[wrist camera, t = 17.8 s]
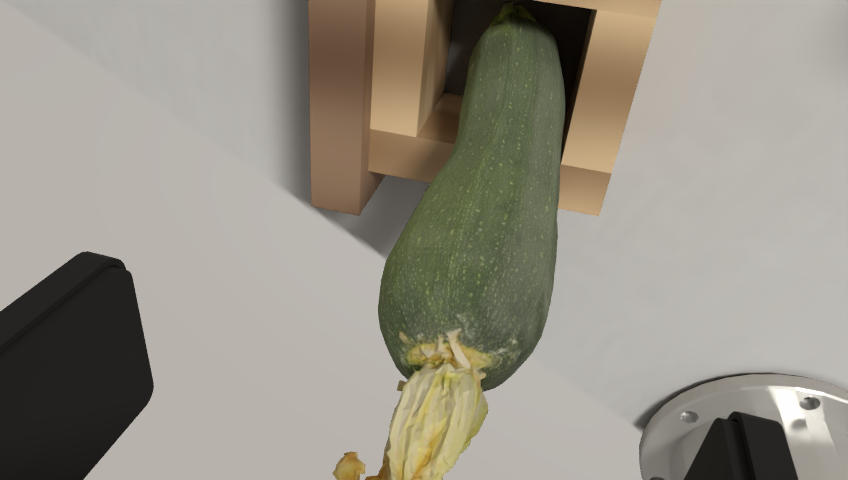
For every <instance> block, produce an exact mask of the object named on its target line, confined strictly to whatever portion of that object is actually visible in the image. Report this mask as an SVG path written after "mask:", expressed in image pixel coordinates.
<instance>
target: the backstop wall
mask: <svg viewBox="0 0 848 480" xmlns="http://www.w3.org/2000/svg"><path fill="white" fill-rule="evenodd" d="M375 6H376V0H308V20H309V88H310V156H311V206H314V207H319V208H324V209H329V210H333V211H338V212H343V213H348V214H353V215H358V216H359V215H360V213H361V212H362V210H363V209H364V207H365V206H366V204H367V203H368V201H369V200H370V198H371V196H372V195H373V193H374V192H375V190H376V189H377V187H378V186H379V184H380V183H381V181H382V179H383V178H384V176H385V175H386V174H381V173H376V172H371V171H368V166H369V143H370V121H371V98H372V75H373V52H374V29H375Z"/></svg>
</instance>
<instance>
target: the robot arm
mask: <svg viewBox="0 0 848 480" xmlns="http://www.w3.org/2000/svg"><path fill="white" fill-rule="evenodd" d="M153 387H154V385H153V378H152V373H151V368H150V364H149V358H148V354H147V349H146V344H145V339H144V333H143V328H142V324H141V318H140V313H139V308H138V303H137V298H136V293H135V288H134V283H133V278H132V275H131V273H130V272H129V271H127V270H126V268H125V265H124V263H123V262H122V261H121V260H119V259H116V258H112V257H108V256H104V255H100V254H96V253H92V252H88V251H87V252H81V253H80V254H78V255H76V256H75V257H73V258H72V259H71V260H69V261H68V262H67V263H65V264H64V265H63V266H61V267H60V268H58V269H57V270H56V271H54V272H53V273H52V274H50V275H49V276H48V277H46V278H45V279H44V280H42V281H41V282H40V283H38V284H37V285H35V286H34V287H33V288H31V289H30V290H29V291H28V292H26V293H25V294H23V295H22V296H21V297H19V298H18V299H17V300H15V301H14V302H13V303H11V304H10V305H9V306H7V307H6V308H4V309H3V310H2V311H0V480H83V479H84V478H85V477H86V475H87V474H88V473H89V472H90V471H91V470H92V469H93V467H94V466H95V465H96V464H97V463H98V462H99V460H100V459H101V458H102V457H103V456H104V454H105V453H106V452H107V451H108V450H109V449H110V447H111V446H112V445H113V444H114V443H115V442H116V440H117V439H118V438H119V437H120V436H121V435H122V433H123V432H124V431H125V430H126V429H127V428H128V426H129V425H130V424H131V423H132V422H133V420H134V419H135V418H136V417H137V416H138V415H139V413H140V412H141V411H142V410H143V409H144V407H145V406H146V405H147V404H148V402H149V400H150V398H151V396H152V392H153ZM639 450H640V453H639V454H640V469H641V475H642V479H643V480H848V391H846V390H844V389H841V388H839V387H837V386H834V385H832V384H829V383H825V382H821V381H817V380H813V379H809V378H805V377H797V376H789V375H781V374H751V375H743V376H736V377H729V378H723V379H720V380H716V381H712V382H709V383H705V384H702V385H699V386H697V387H695V388H693V389H690V390H688V391H686V392H684V393H681V394H680V395H678V396H677V397H675V398H674V399H672V400H671V401H669V402H668V403H666V404H665V405H664V406H663V407H662V408H661V409H660V410H659V411H658V412H657V413H656V414H655V415H654V416H653V417H652V418H651V419H650V421H649V423H648V424H647V426H646V427H645V429H644V431H643V434H642V437H641V441H640V445H639Z"/></svg>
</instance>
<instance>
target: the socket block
mask: <svg viewBox="0 0 848 480" xmlns="http://www.w3.org/2000/svg"><path fill="white" fill-rule="evenodd" d="M535 1H542V2H549V3H555V4H562V5H569V6H576V7H582V8H589V9H592V10H591V14H590V18H589V23H588V27H587V31H586V36H585V40H584V44H583V49H582V53H581V57H580V62H579V66H578V70H577V75H576V79H575V83H574V87H573V92H572V96H571V100H570V105H569V109H568V113H567V114H565V118H564V126H563V133H562V145H561V157H560V191H559V203H558V208H560V209H565V210H570V211H575V212H580V213H585V214H590V215H595V216H599V214H600V211H601V208H602V204H603V201H604V197H605V194H606V190H607V187H608V183H609V180H610V177H611V173H612V170H613V166H614V163H615V159H616V156H617V152H618V149H619V146H620V142H621V139H622V135H623V132H624V128H625V125H626V121H627V118H628V115H629V111H630V108H631V104H632V101H633V97H634V94H635V90H636V87H637V84H638V80H639V77H640V73H641V70H642V66H643V63H644V60H645V56H646V53H647V49H648V46H649V42H650V39H651V35H652V32H653V29H654V25H655V22H656V18H657V15H658V11H659V8H660V4H661V1H662V0H535ZM453 8H454V0H376V6H375V29H374V52H373V75H372V98H371V121H370V143H369V166H368V171H371V172H376V173H381V174H386V175H391V176H396V177H402V178H407V179H412V180H417V181H422V182H427V183H431V182H432V180H433V179H434V177H435V176H436V175H437V173H438V172H439V171H440V170H441V168H442V167H443V166H444V165H445V163H446V162H447V161H448V160H449V158H450V155H451V152H452V150H453V147H454V144H455V142H456V138H457V135H458V128H459V118H460V112H461V105H462V100H463V96H462V95H456V94H450V93H444V89H445V80H446V71H447V62H448V53H449V44H450V35H451V26H452V17H453Z"/></svg>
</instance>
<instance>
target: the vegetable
mask: <svg viewBox="0 0 848 480" xmlns="http://www.w3.org/2000/svg"><path fill="white" fill-rule="evenodd" d="M564 118H565V91H564V81H563V76H562V70H561V64H560V59H559V53H558V47H557V44H556V40H555V38H554V37H553V35H552V33H551V31H550V30H549V29H548V28H547V27H546V26H544V25H543V24H541V23H539V22H537V21H536V20H535V18H534V16H533V15H532V14H530V13H529V12H528V11H527V10H526V9H525V8H524V7H523V6H519V5H517V6H516V7H513V3H512V1H509V2H507V3H506V4H505V5H503V7H502V8H501V11H500V13H499V14H498V16H495V17H494V19H493V20H492V22H491V24H490V26H489V28H487V29H486V30H485V31H484V32H483V34H482V35H481V37H480V39H479V40H478V42H477V44H476V46H475V47H474V49H473V52H472V54H471V56H470V59H469V66H468V74H467V80H466V86H465V90H464V95H463V100H462V105H461V112H460V118H459V128H458V135H457V138H456V142H455V144H454V147H453V150H452V152H451V155H450V158H449V160H448V161H447V162H446V163H445V165H444V166H443V167H442V168H441V170H440V171H439V172H438V173H437V175H436V176H435V177H434V179H433V180H432V182H431V183H430V185H429V186H428V188H427V190H426V191H425V193H424V195H423V197H422V199H421V201H420V203H419V205H418V206H417V208H416V209H415V211H414V212H413V214H412V216H411V218H410V220H409V221H408V223H407V225H406V227H405V228H404V230H403V232H402V234H401V236H400V237H399V239H398V241H397V243H396V244H395V246H394V248H393V250H392V251H391V253H390V255H389V257H388V259H387V260H386V263H385V268H384V271H383V276H382V279H381V287H380V296H379V305H378V315H379V323H380V329H381V332H382V335H383V337H384V341H385V343H386V346H387V348H388V351H389V353H390V355H391V357H392V359H393V361H394V363H395V365H396V367H397V368H398V370H399V371H400V372H401V374H402V375H403V376H405V377H406V378H407V379H408V381H407V382H404V381H399V385H398V388H397V390H398V391H402V393H401V397H400V400H399V402H398V405H397V406H396V408H395V410H394V414H393V417H392V420H391V424H390V431H389V437H388V441H387V444H386V447H385V450H384V458H383V466H382V468H381V469H380V471H379V474H378V475H377V476H370V477H366V479H365V480H443V479H442V476H443V475H444V474H445V473H447V472H448V471H449V470H450V469H451V468H452V467H453V466H454V464H455V463H456V461H457V459H458V458H459V456H460V454H461V453H462V452H463V451H464V450H465V449H466V448H467V447H468V446H469V445H470V441H471V438H473V437H474V436H475V435H476V434H477V433H478V432H479V430H480V427H481V426H482V423H483V421H484V419H485V417H486V414H487V413H488V404H487V402H486V399H485V396H484V394H483V391H487V390H490V389H493V388H495V387H497V386H499V385H500V384H502V383H503V382H504V381H506V380H507V379H508V378H509V377H510V376H511V375H512V374H513V373H515V371H516V370H517V369H518V368H519V367H520V366H521V365H522V364H523V363H524V361H526V359H527V358H528V357H529V356H530V355H531V353H532V352H533V350H534V349H535V347H536V345H537V343H538V341H539V340H540V338H541V336H542V332H543V329H544V326H545V323H546V320H547V316H548V311H549V306H550V302H551V295H552V291H553V283H554V272H555V263H556V252H557V238H558V232H557V209H558V203H559V191H560V157H561V145H562V133H563V126H564ZM344 455H345V456H344V457H343V458H341V460H340V461H339V462H338V464H337V465H336V469H335V471H334V472H333V475H334V476H335V477H336V479H337V480H359V478H360V474H365V464H364V463H363V462H362V461H360V460H359V459H358V455H357V452H349V453H345V454H344Z"/></svg>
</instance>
